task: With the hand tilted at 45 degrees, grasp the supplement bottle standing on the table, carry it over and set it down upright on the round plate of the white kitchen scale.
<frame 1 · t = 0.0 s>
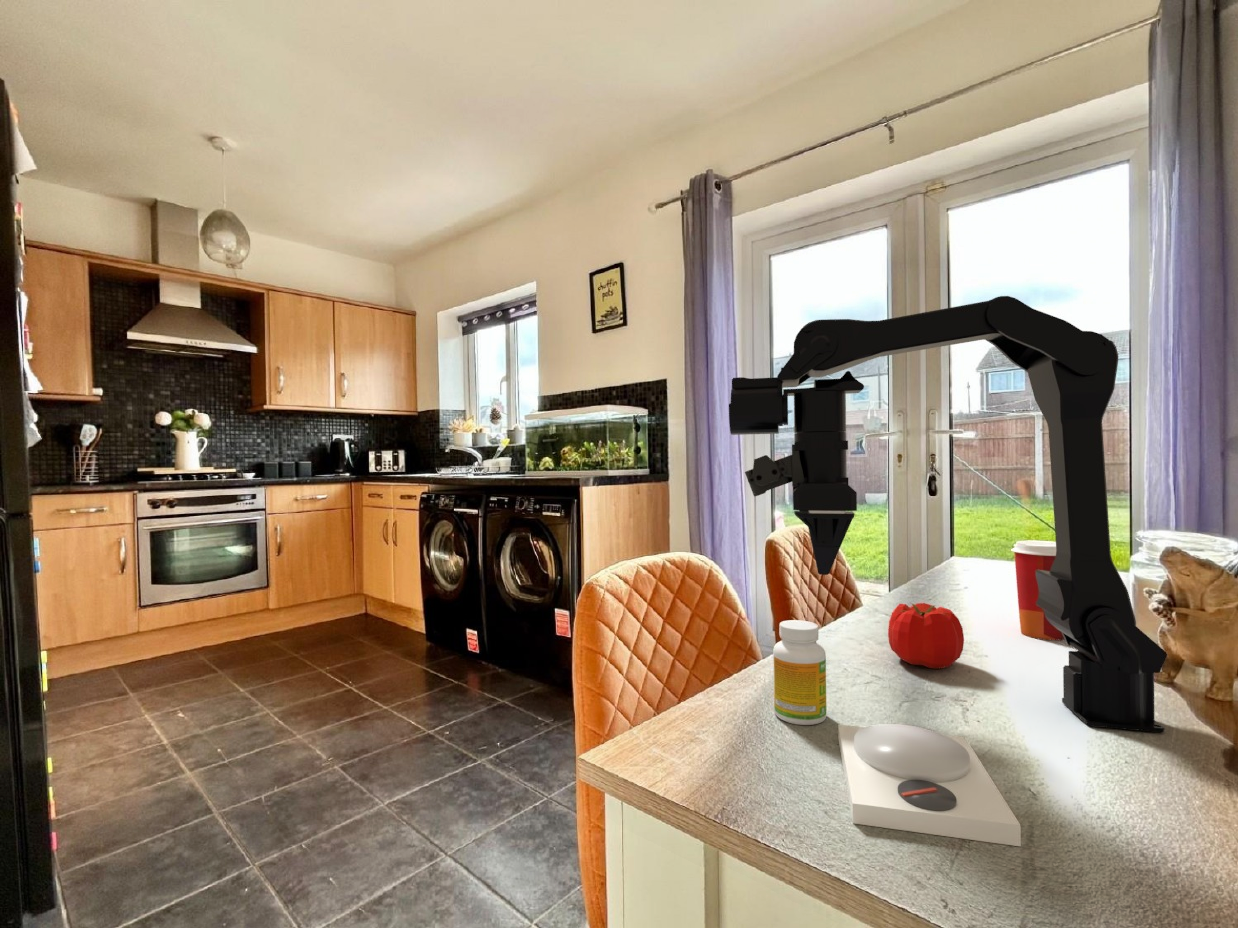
hand: (821, 567, 71), 15 cm above the table, tool pointing down, fingers open, 9 cm apart
supplement bottle: (799, 717, 65), on the table
paper cup: (1042, 636, 93), on the table
kitchen scale: (914, 784, 51), on the table
tomato: (923, 664, 81), on the table
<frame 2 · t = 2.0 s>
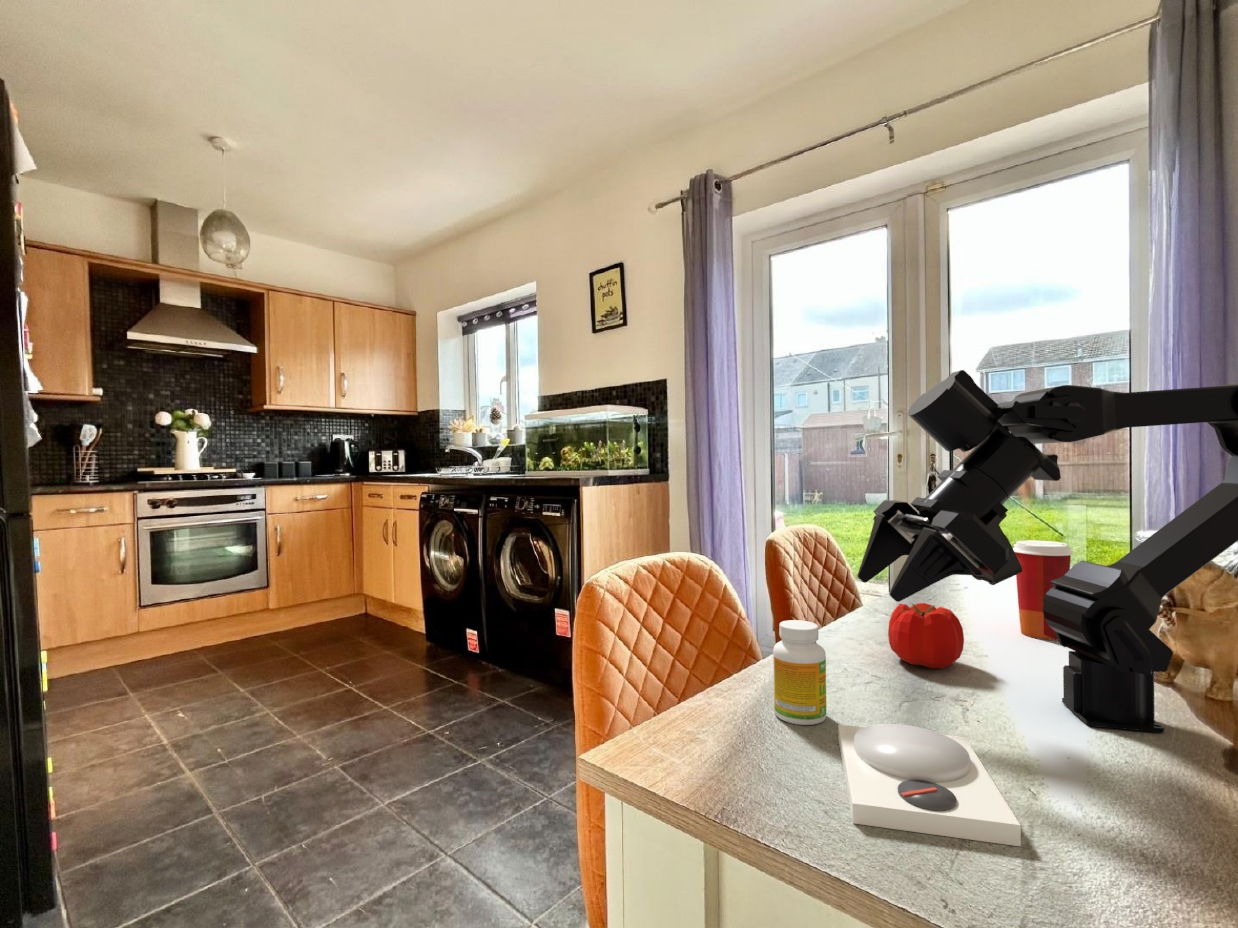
hand: (875, 588, 64), 13 cm above the table, tool tilted 45°, fingers open, 9 cm apart
nothing on the table moved.
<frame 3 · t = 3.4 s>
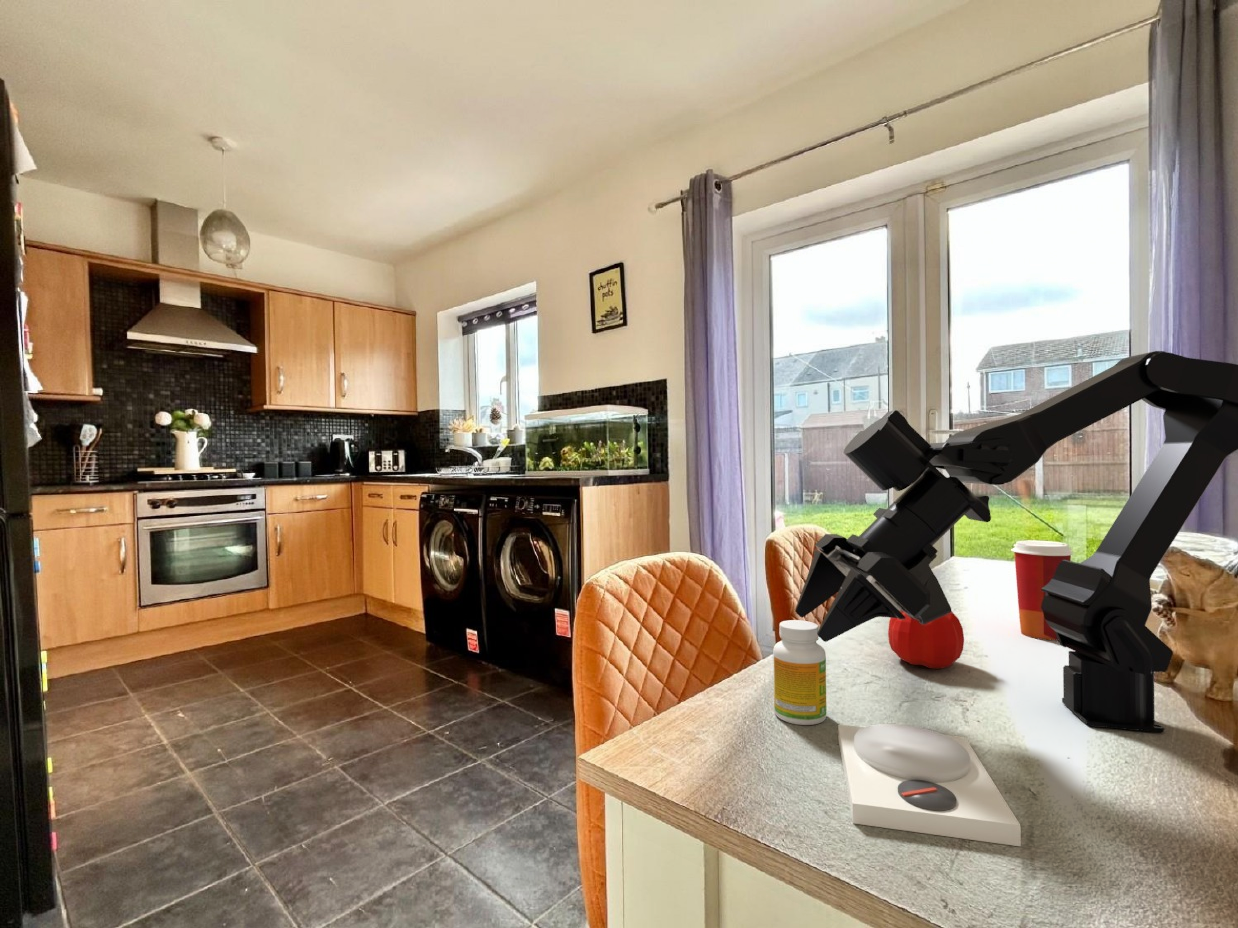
hand: (808, 625, 65), 10 cm above the table, tool tilted 45°, fingers open, 9 cm apart
nothing on the table moved.
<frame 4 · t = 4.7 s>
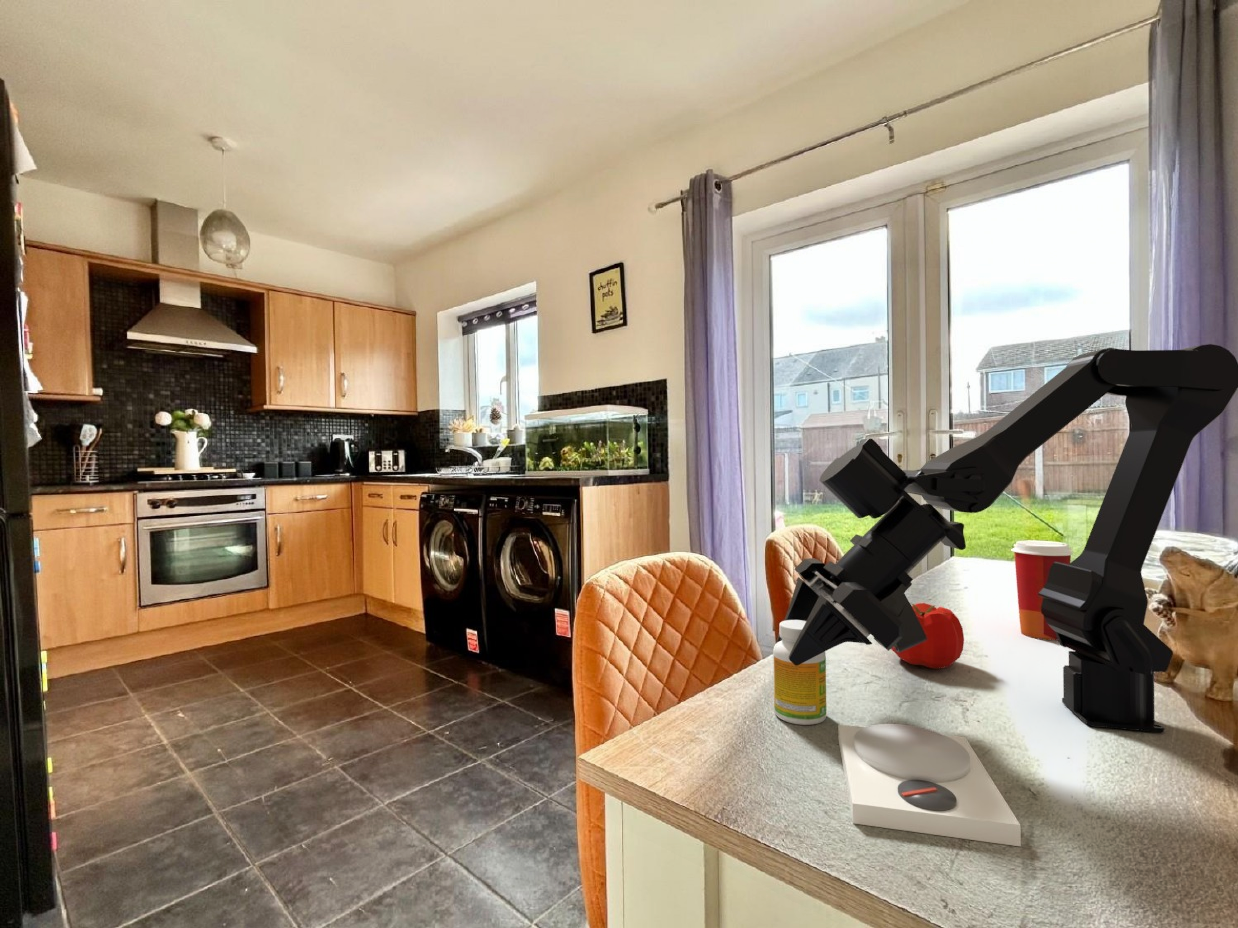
hand: (785, 653, 65), 7 cm above the table, tool tilted 45°, fingers closed on supplement bottle, 5 cm apart
supplement bottle: (799, 717, 65), on the table, touching gripper
everything else where it was.
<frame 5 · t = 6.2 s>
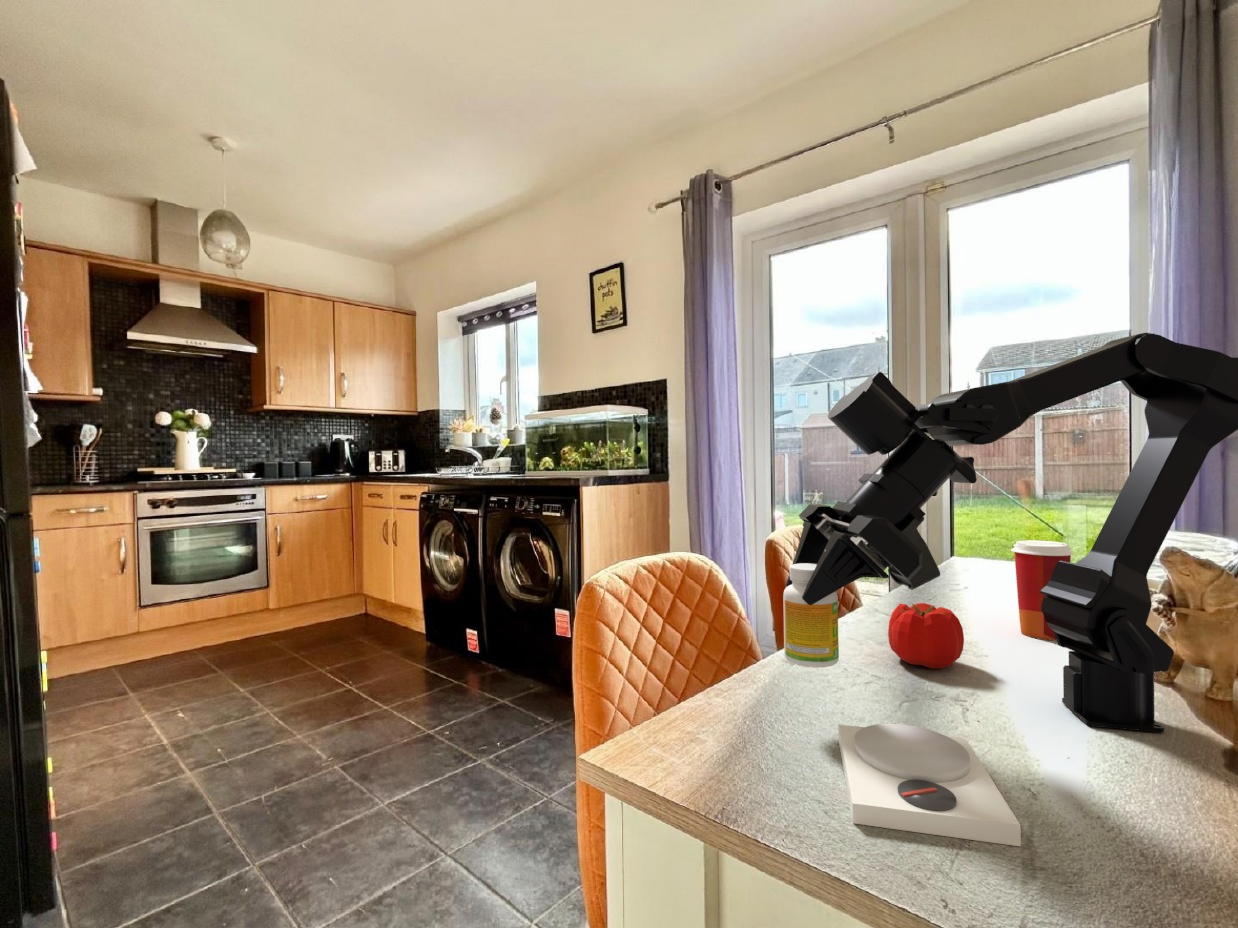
hand: (797, 595, 63), 13 cm above the table, tool tilted 45°, fingers closed on supplement bottle, 5 cm apart
supplement bottle: (811, 661, 63), point 6 cm above the table, touching gripper
everything else where it was.
when the fingers open (10 cm above the table, at t = 8.0 s): supplement bottle stays where it is, resting on kitchen scale.
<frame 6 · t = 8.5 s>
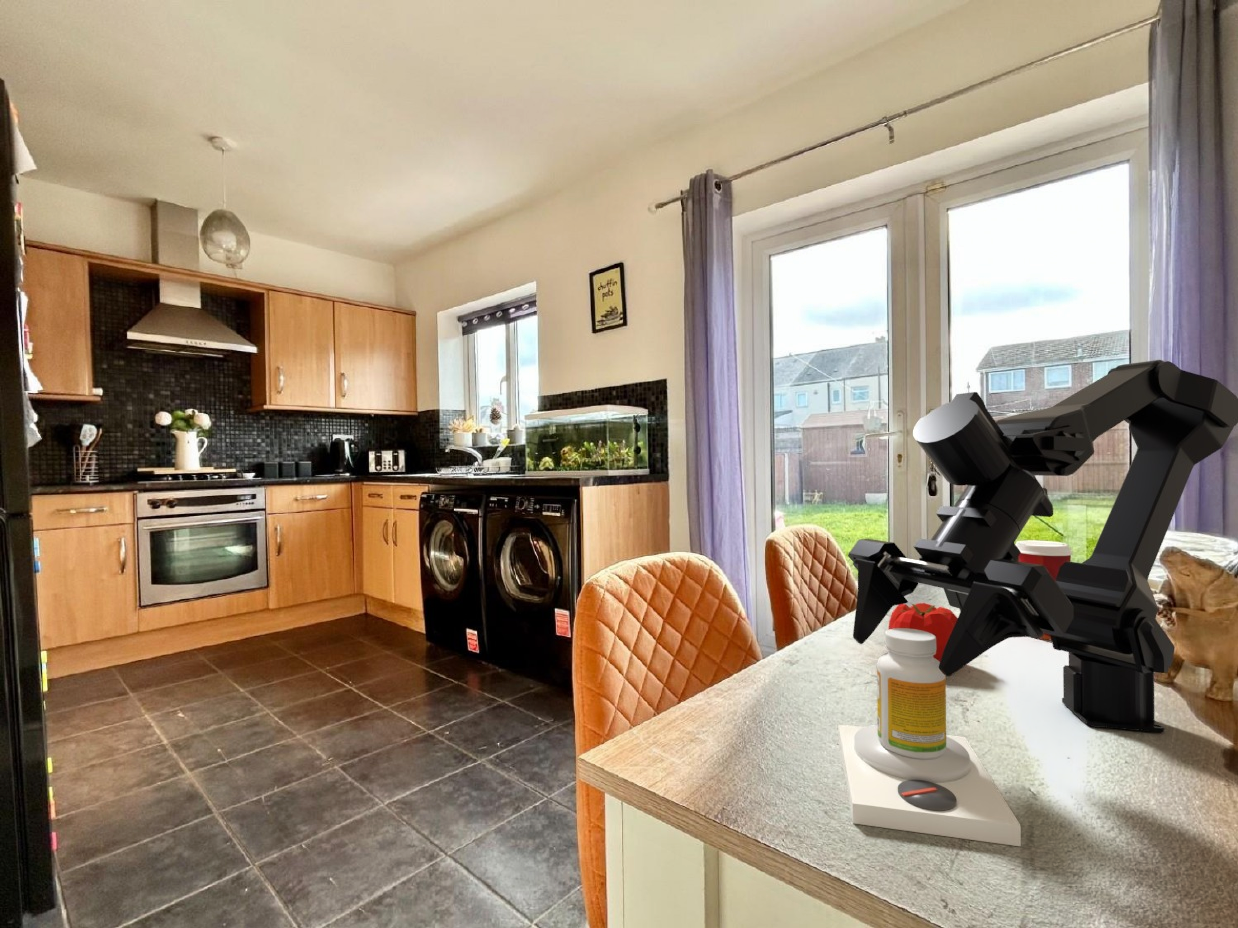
hand: (896, 655, 52), 10 cm above the table, tool tilted 45°, fingers open, 9 cm apart
supplement bottle: (911, 747, 53), point 2 cm above the table, touching kitchen scale
everything else where it was.
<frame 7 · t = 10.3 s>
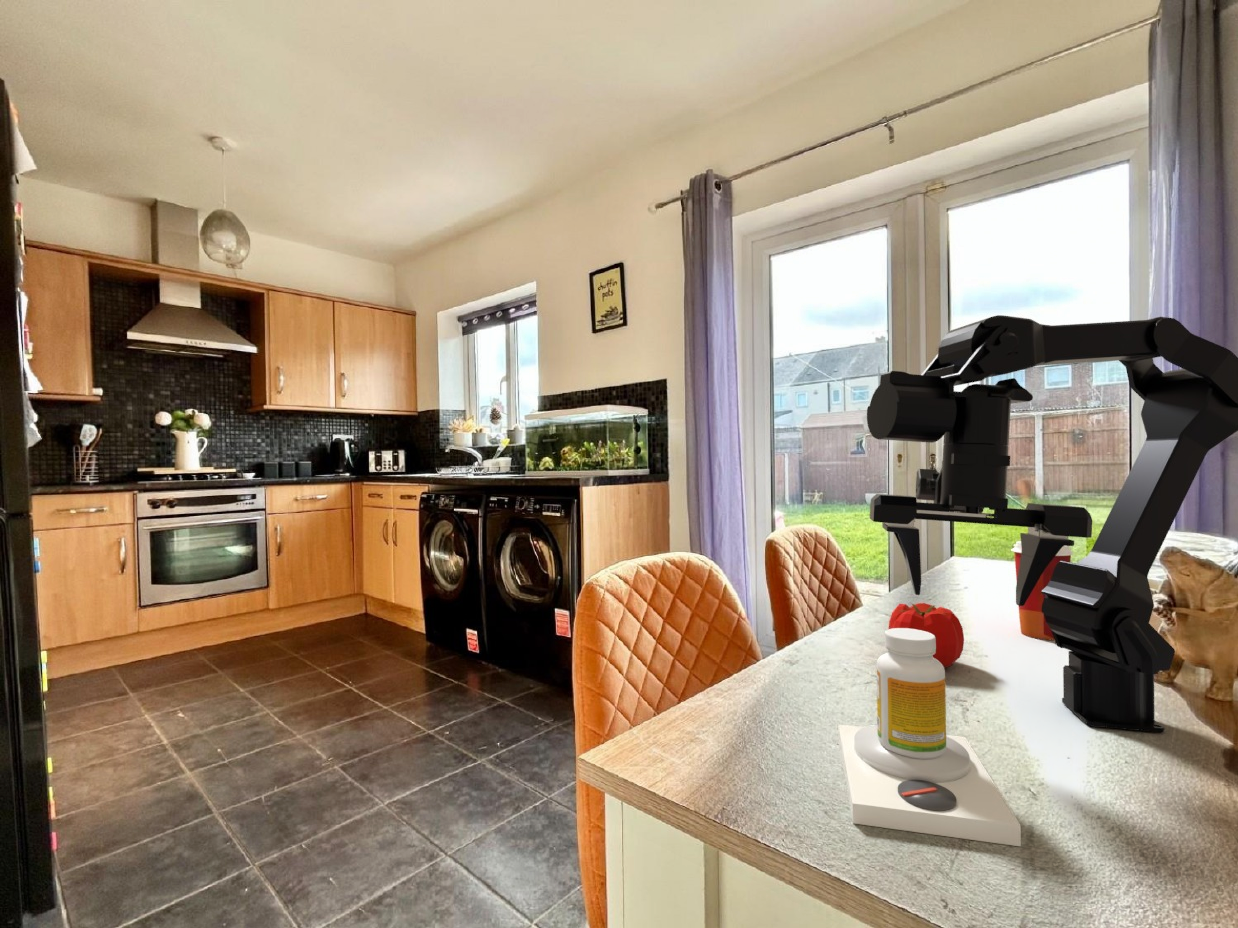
hand: (967, 599, 61), 13 cm above the table, tool pointing down, fingers open, 9 cm apart
nothing on the table moved.
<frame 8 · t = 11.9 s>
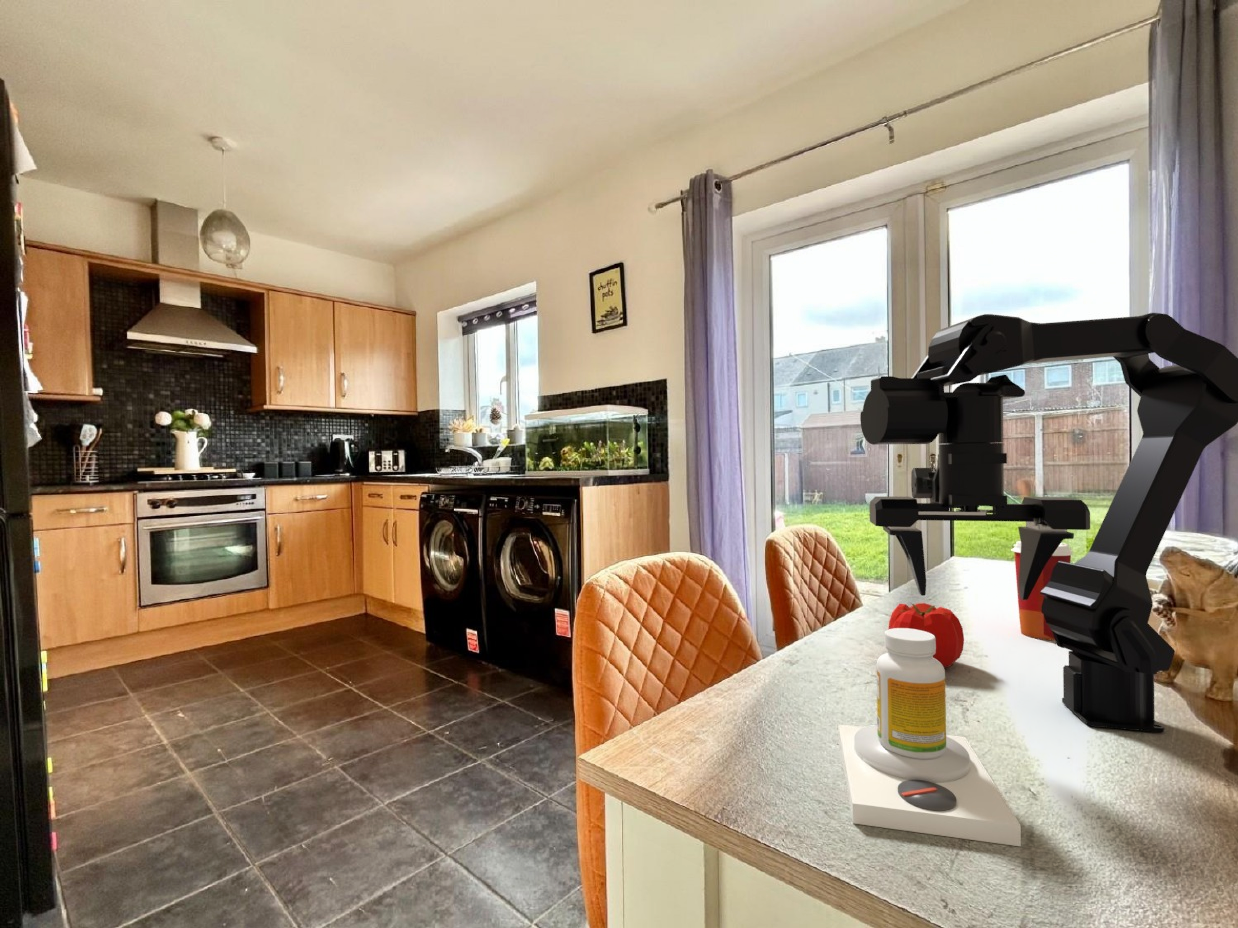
hand: (971, 596, 62), 13 cm above the table, tool pointing down, fingers open, 9 cm apart
nothing on the table moved.
at the end: supplement bottle inside the target area on the kitchen scale (0.1 cm from its centre), point 2.1 cm above the kitchen scale's base; supplement bottle tilted 0°; the gripper is holding nothing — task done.
